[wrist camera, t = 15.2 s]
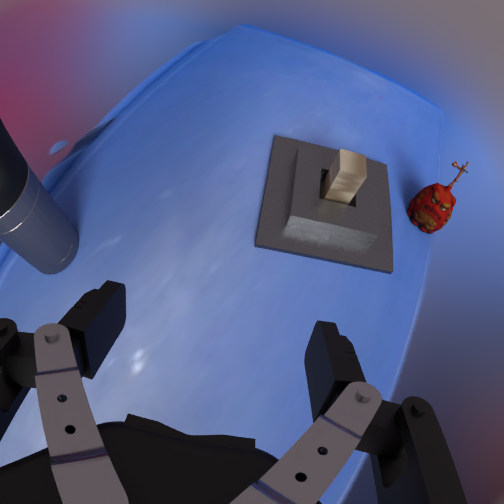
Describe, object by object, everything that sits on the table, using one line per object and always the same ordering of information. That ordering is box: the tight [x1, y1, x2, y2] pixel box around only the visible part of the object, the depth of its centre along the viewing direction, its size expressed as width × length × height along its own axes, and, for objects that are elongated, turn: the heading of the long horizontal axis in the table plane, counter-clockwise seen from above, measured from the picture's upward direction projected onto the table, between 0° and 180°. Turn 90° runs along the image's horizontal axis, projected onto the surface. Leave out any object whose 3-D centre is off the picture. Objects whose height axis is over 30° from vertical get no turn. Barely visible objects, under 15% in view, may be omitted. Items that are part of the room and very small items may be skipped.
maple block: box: [321, 149, 367, 205], centre depth 46 cm, size 4×4×10 cm
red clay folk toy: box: [408, 161, 468, 234], centre depth 45 cm, size 8×7×15 cm
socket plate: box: [255, 135, 393, 274], centre depth 49 cm, size 22×22×4 cm
